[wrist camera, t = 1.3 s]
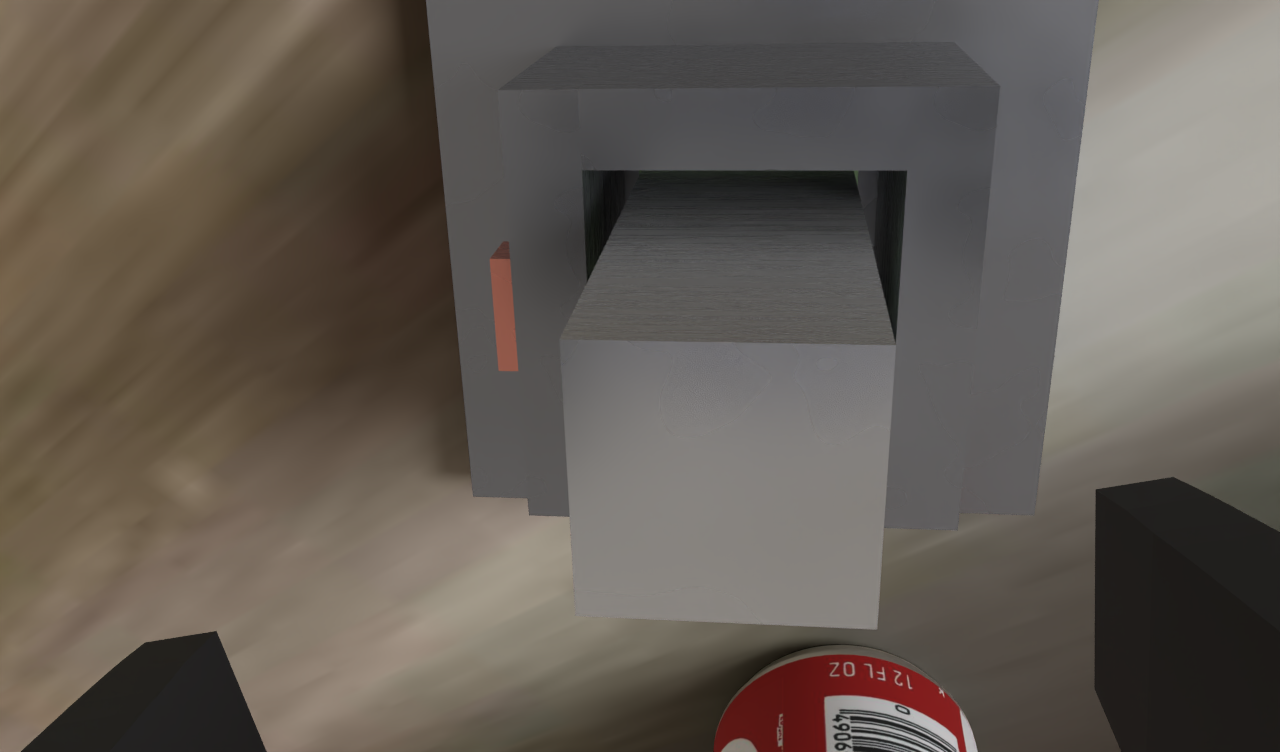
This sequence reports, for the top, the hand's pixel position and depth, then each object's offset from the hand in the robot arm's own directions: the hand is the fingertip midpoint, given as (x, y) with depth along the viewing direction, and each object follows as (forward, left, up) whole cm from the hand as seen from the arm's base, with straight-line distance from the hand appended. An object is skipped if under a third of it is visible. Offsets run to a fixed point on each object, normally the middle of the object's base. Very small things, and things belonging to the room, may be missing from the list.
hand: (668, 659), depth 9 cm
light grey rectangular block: (0, -1, -10) cm, 10 cm away
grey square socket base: (0, -1, -11) cm, 11 cm away
